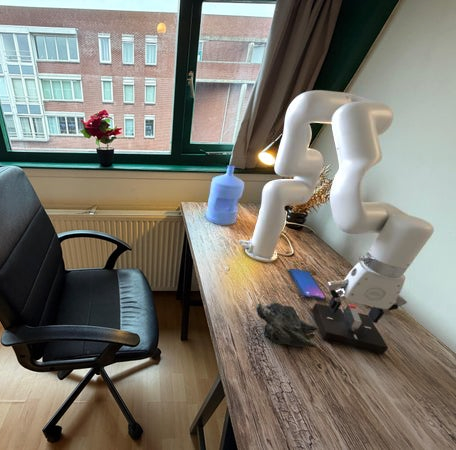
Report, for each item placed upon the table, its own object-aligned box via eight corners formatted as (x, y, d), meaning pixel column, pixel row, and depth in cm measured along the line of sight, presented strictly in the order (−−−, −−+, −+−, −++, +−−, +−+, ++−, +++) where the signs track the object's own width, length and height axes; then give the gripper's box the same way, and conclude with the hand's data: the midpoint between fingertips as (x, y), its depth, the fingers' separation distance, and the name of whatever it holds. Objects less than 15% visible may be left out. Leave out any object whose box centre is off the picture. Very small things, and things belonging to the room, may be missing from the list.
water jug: (199, 214, 132) (208, 163, 119) (222, 211, 138) (233, 161, 125) (217, 228, 120) (229, 171, 107) (242, 223, 126) (255, 169, 113)
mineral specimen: (274, 348, 57) (284, 306, 58) (241, 327, 69) (250, 293, 70) (322, 359, 61) (331, 319, 62) (282, 338, 73) (290, 304, 74)
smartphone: (308, 270, 92) (328, 299, 79) (308, 272, 92) (326, 301, 79) (288, 268, 93) (304, 295, 79) (287, 270, 93) (303, 297, 80)
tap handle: (355, 333, 65) (362, 322, 63) (348, 330, 66) (355, 319, 64) (349, 315, 70) (355, 305, 68) (342, 313, 71) (348, 303, 69)
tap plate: (322, 339, 66) (327, 331, 65) (311, 309, 76) (315, 302, 74) (382, 355, 63) (388, 347, 62) (363, 322, 73) (368, 314, 71)
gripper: (349, 265, 57) (320, 315, 66) (438, 283, 54) (395, 334, 62) (338, 248, 64) (313, 296, 72) (417, 263, 60) (381, 312, 68)
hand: (351, 313), depth 67 cm, fingers open, 9 cm apart
